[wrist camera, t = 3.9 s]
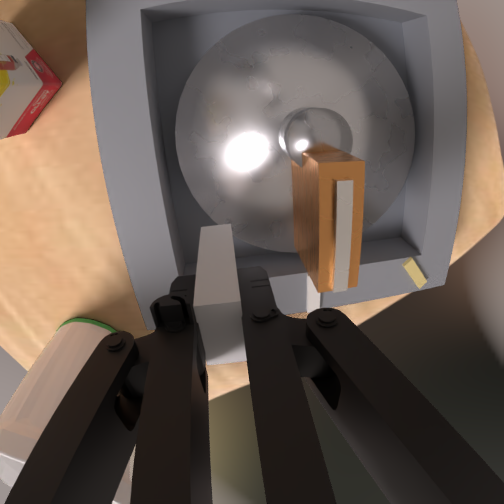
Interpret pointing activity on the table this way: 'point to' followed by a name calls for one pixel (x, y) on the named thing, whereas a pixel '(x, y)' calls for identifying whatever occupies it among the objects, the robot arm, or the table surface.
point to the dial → (297, 140)
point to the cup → (49, 397)
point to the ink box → (22, 82)
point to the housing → (172, 180)
